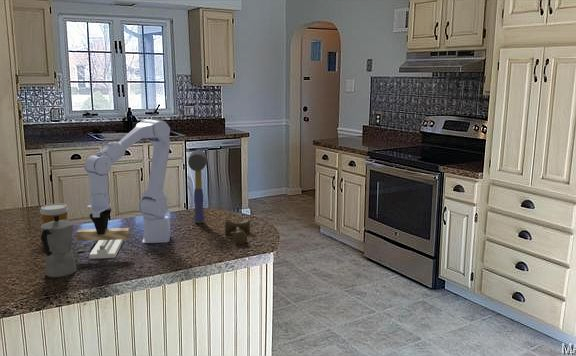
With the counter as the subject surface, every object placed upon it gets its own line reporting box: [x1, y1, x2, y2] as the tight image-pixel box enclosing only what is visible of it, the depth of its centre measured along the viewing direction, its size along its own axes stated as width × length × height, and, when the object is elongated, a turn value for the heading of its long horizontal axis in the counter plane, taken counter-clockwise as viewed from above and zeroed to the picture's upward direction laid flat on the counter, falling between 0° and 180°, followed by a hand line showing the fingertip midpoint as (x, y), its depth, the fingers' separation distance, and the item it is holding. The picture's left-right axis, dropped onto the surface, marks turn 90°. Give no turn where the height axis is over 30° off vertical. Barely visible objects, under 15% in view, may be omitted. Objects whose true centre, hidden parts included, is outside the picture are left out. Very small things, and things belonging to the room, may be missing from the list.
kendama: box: [224, 218, 251, 245], centre depth 184 cm, size 6×10×20 cm
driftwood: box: [77, 240, 98, 253], centre depth 175 cm, size 21×7×2 cm, turn 3°
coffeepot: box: [40, 215, 77, 278], centre depth 146 cm, size 15×9×18 cm, turn 179°
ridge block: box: [89, 239, 124, 260], centre depth 168 cm, size 8×16×4 cm, turn 9°
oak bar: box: [76, 227, 130, 242], centre depth 161 cm, size 16×3×3 cm, turn 100°
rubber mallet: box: [187, 149, 208, 224], centre depth 198 cm, size 12×8×30 cm, turn 7°
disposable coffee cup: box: [39, 203, 69, 224], centre depth 179 cm, size 10×10×12 cm
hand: (102, 232), depth 160 cm, fingers closed on oak bar, 3 cm apart
